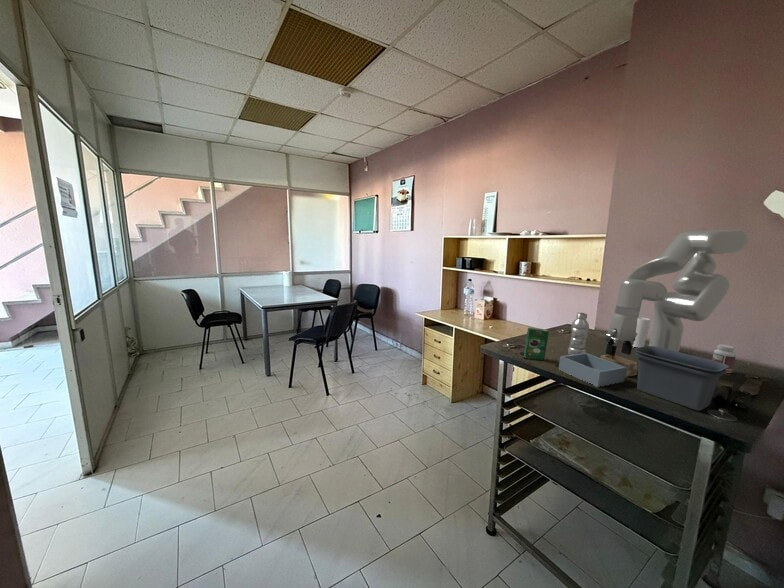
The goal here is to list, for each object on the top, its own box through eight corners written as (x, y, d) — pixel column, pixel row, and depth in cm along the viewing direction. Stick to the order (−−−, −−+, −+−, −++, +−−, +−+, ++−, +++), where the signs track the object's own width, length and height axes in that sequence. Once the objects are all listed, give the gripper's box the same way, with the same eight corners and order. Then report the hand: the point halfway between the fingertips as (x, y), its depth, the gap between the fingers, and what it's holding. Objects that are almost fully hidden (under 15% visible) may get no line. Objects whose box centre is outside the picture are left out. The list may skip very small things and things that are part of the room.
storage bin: (623, 387, 109) (631, 348, 107) (644, 379, 117) (651, 343, 115) (706, 418, 91) (717, 372, 89) (724, 407, 99) (734, 364, 97)
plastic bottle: (587, 361, 134) (595, 315, 130) (571, 360, 134) (578, 314, 130) (579, 355, 140) (585, 312, 137) (563, 355, 140) (570, 311, 137)
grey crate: (583, 365, 128) (585, 352, 127) (624, 381, 114) (626, 367, 113) (558, 369, 123) (560, 356, 122) (597, 387, 109) (600, 372, 108)
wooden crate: (609, 365, 131) (611, 354, 130) (636, 375, 122) (638, 363, 121) (598, 367, 128) (600, 355, 127) (624, 377, 119) (627, 365, 118)
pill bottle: (730, 371, 130) (736, 346, 128) (732, 376, 125) (739, 349, 123) (709, 367, 134) (714, 342, 132) (710, 371, 129) (716, 345, 127)
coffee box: (543, 358, 135) (547, 328, 132) (545, 360, 132) (549, 330, 130) (523, 356, 136) (527, 327, 134) (524, 358, 133) (528, 328, 131)
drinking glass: (646, 350, 152) (651, 320, 150) (628, 347, 156) (634, 318, 153) (644, 347, 158) (650, 318, 155) (627, 344, 162) (633, 315, 159)
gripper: (630, 309, 127) (621, 350, 130) (602, 309, 121) (594, 352, 123) (651, 314, 121) (641, 356, 123) (623, 314, 114) (613, 359, 116)
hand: (618, 354), depth 123 cm, fingers open, 9 cm apart
